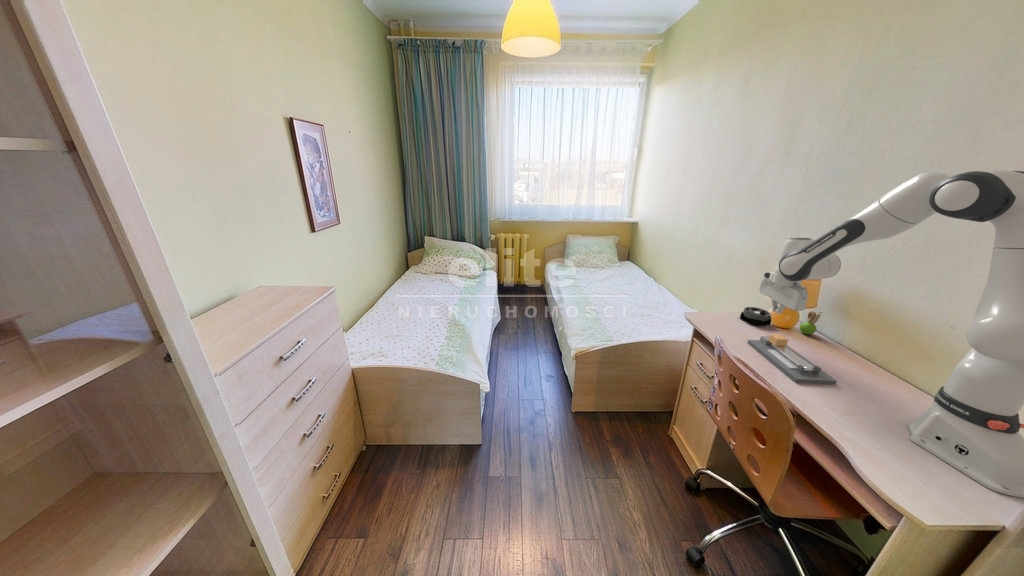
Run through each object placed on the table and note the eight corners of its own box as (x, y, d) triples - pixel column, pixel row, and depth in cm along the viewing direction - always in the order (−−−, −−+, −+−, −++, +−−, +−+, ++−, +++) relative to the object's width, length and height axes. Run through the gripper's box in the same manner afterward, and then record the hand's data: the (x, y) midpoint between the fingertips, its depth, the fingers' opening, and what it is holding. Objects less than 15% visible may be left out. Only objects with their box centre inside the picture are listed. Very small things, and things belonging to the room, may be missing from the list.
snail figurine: (803, 336, 140) (813, 311, 135) (795, 329, 145) (804, 305, 141) (818, 338, 138) (828, 313, 134) (809, 331, 144) (818, 306, 140)
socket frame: (835, 384, 109) (839, 374, 108) (795, 382, 110) (799, 372, 108) (780, 344, 133) (783, 335, 132) (747, 342, 134) (750, 334, 132)
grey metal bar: (815, 372, 112) (816, 368, 111) (803, 371, 112) (805, 368, 111) (780, 345, 127) (782, 342, 127) (770, 345, 127) (771, 342, 127)
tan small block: (785, 346, 125) (788, 339, 124) (775, 345, 125) (777, 339, 124) (778, 340, 128) (780, 334, 127) (768, 340, 129) (770, 334, 128)
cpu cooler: (739, 307, 155) (757, 305, 156) (736, 317, 157) (754, 316, 158) (757, 316, 145) (777, 315, 146) (753, 327, 147) (773, 326, 149)
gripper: (818, 288, 115) (805, 324, 120) (776, 271, 134) (767, 302, 139) (799, 288, 115) (787, 323, 120) (760, 271, 134) (751, 302, 139)
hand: (776, 312), depth 129 cm, fingers closed
